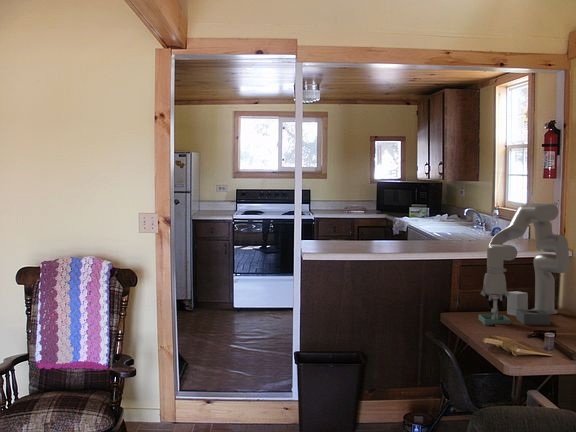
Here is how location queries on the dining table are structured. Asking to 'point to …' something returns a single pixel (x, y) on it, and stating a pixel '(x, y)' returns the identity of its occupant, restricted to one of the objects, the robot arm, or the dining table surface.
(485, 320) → the tray
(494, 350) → the dining table surface
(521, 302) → the supplement box
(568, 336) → the dining table surface
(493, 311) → the pin
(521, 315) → the socket block
